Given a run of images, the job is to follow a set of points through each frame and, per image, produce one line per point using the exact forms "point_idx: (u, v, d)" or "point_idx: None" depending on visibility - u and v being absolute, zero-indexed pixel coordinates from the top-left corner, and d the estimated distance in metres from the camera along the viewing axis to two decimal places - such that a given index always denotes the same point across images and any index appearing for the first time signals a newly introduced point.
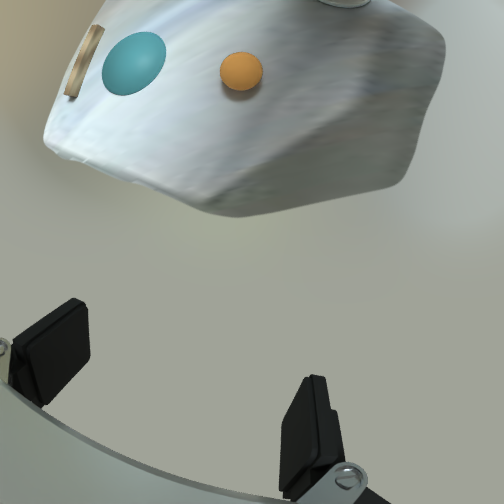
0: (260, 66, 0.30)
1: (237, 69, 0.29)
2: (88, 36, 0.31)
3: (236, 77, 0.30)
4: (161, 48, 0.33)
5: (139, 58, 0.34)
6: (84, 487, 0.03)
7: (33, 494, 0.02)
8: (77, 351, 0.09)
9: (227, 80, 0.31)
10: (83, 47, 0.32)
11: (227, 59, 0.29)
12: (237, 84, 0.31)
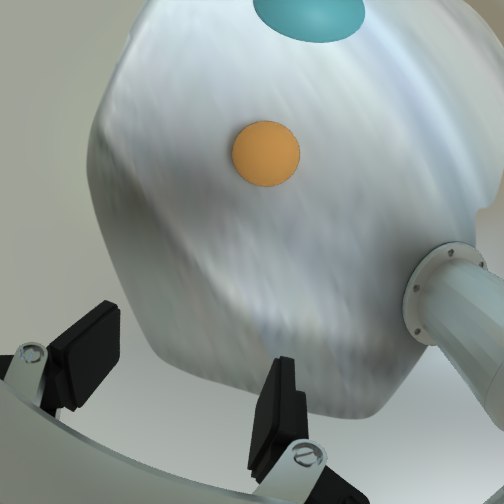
0: (270, 184, 0.22)
1: (253, 149, 0.20)
2: None
3: (241, 149, 0.21)
4: (329, 35, 0.21)
5: (314, 8, 0.20)
6: (84, 487, 0.03)
7: (33, 494, 0.02)
8: (109, 353, 0.10)
9: (240, 134, 0.21)
10: None
11: (277, 132, 0.20)
12: (234, 150, 0.21)
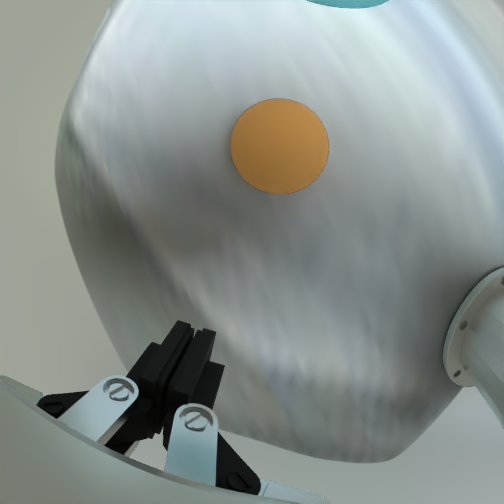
0: (286, 191, 0.15)
1: (260, 138, 0.13)
2: None
3: (242, 137, 0.13)
4: (358, 0, 0.14)
5: None
6: (84, 487, 0.03)
7: (33, 494, 0.02)
8: None
9: (241, 116, 0.14)
10: None
11: (296, 112, 0.13)
12: (232, 140, 0.14)
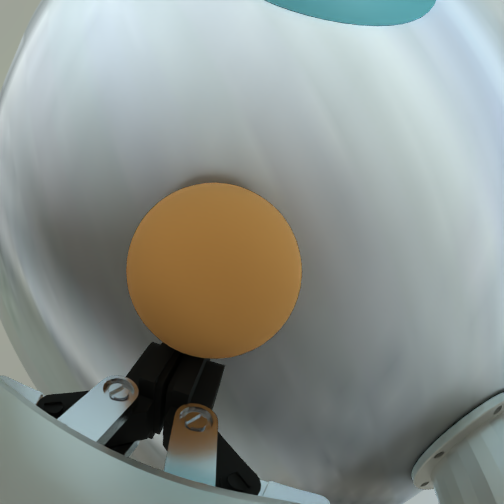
0: (216, 357, 0.08)
1: (164, 253, 0.07)
2: None
3: (137, 248, 0.07)
4: (375, 12, 0.08)
5: None
6: (84, 487, 0.03)
7: (33, 494, 0.02)
8: None
9: None
10: None
11: (244, 205, 0.07)
12: (128, 252, 0.08)
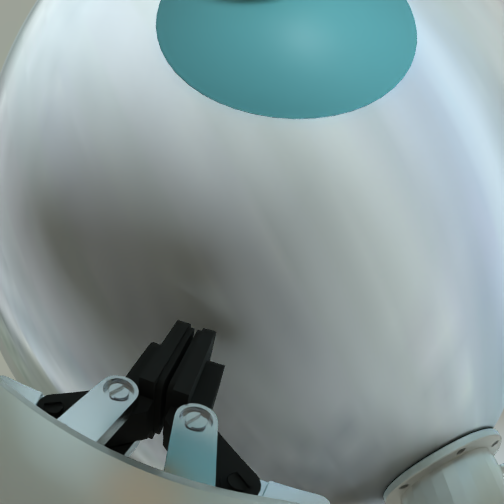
0: None
1: None
2: None
3: None
4: (333, 97, 0.09)
5: (298, 21, 0.09)
6: (84, 487, 0.03)
7: (33, 494, 0.02)
8: None
9: None
10: None
11: None
12: None
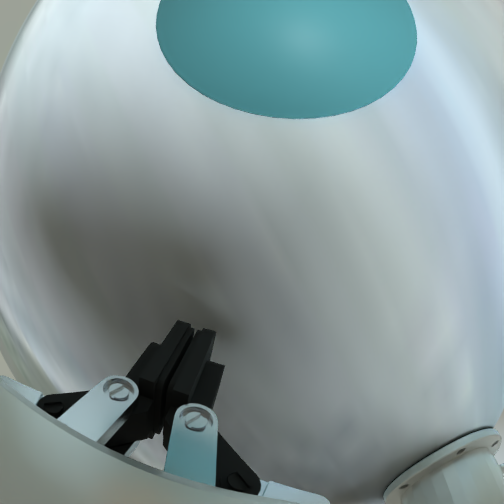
0: None
1: None
2: None
3: None
4: (333, 97, 0.09)
5: (298, 21, 0.09)
6: (84, 487, 0.03)
7: (33, 494, 0.02)
8: None
9: None
10: None
11: None
12: None
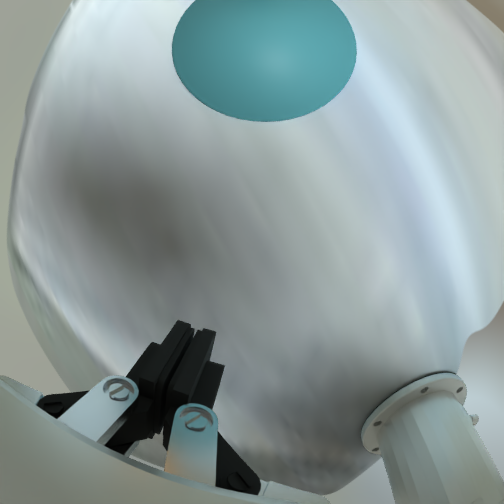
0: None
1: None
2: None
3: None
4: (291, 106, 0.15)
5: (270, 53, 0.14)
6: (84, 487, 0.03)
7: (33, 494, 0.02)
8: None
9: None
10: None
11: None
12: None
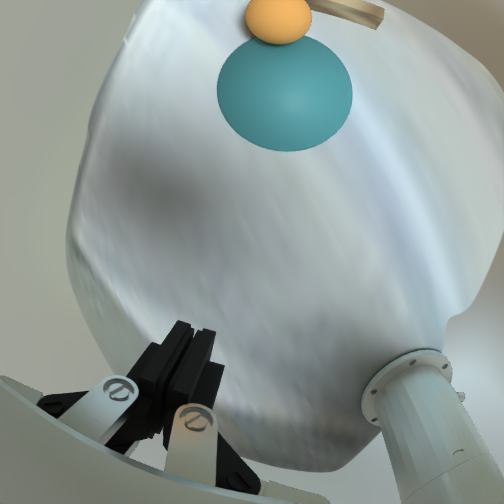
0: None
1: None
2: (358, 2, 0.16)
3: None
4: (304, 140, 0.23)
5: (290, 100, 0.22)
6: (84, 487, 0.03)
7: (33, 494, 0.02)
8: None
9: None
10: None
11: None
12: None
